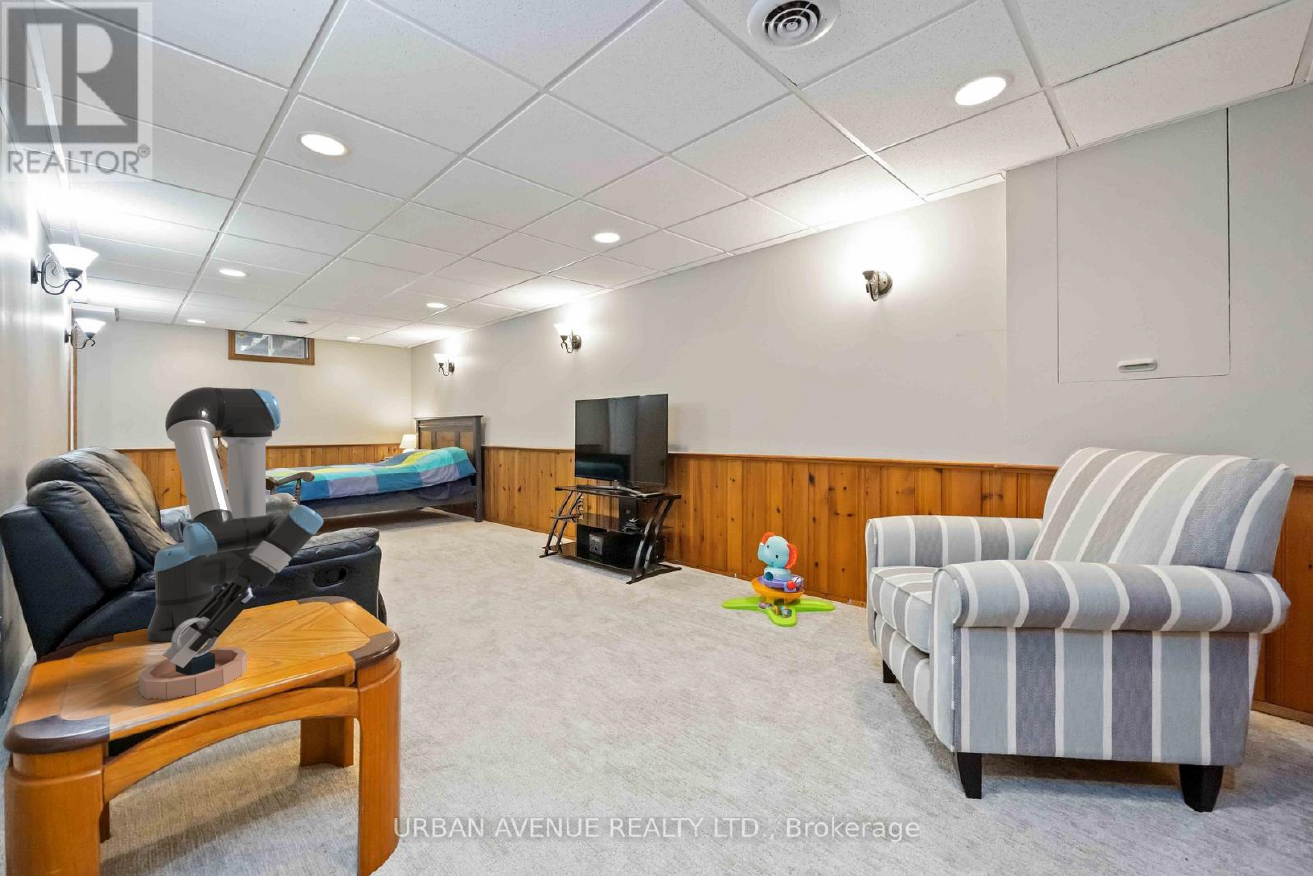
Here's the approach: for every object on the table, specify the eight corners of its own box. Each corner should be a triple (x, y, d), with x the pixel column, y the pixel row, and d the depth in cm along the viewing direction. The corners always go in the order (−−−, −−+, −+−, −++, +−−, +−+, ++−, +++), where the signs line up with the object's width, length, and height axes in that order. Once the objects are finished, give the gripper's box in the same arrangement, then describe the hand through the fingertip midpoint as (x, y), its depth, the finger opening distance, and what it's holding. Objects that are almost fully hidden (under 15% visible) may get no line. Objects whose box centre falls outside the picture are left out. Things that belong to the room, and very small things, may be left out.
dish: (131, 684, 115) (130, 667, 115) (229, 656, 129) (229, 641, 129) (154, 707, 105) (154, 689, 105) (258, 674, 119) (257, 658, 119)
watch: (225, 664, 120) (225, 614, 119) (181, 680, 112) (181, 627, 112) (209, 659, 122) (209, 610, 121) (165, 674, 114) (165, 622, 114)
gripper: (292, 580, 124) (203, 680, 111) (260, 568, 134) (176, 659, 121) (264, 561, 120) (168, 663, 107) (234, 551, 130) (143, 643, 117)
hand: (172, 661), depth 114 cm, fingers closed on watch, 5 cm apart
